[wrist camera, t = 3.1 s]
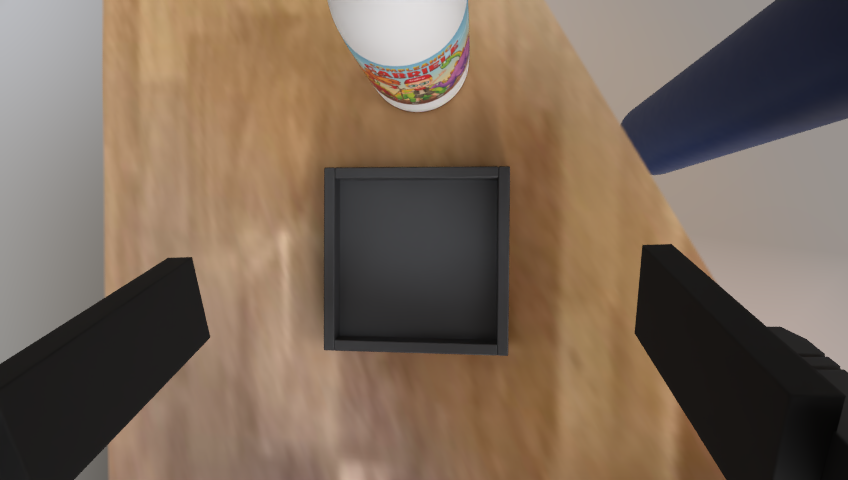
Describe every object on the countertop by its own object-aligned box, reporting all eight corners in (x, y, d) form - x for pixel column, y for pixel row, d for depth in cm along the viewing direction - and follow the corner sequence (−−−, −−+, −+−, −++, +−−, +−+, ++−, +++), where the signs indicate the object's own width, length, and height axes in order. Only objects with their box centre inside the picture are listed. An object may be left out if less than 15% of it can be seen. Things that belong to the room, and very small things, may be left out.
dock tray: (507, 170, 37) (510, 166, 35) (506, 348, 38) (508, 355, 35) (332, 171, 39) (324, 167, 36) (332, 343, 39) (323, 350, 37)
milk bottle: (353, 44, 38) (225, -159, 19) (441, -5, 38) (407, -270, 18) (397, 131, 38) (315, 22, 18) (487, 84, 37) (503, -84, 18)
